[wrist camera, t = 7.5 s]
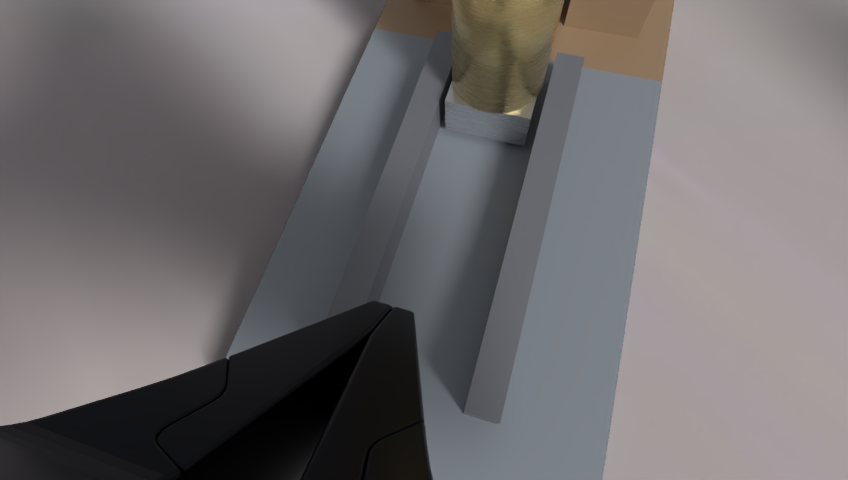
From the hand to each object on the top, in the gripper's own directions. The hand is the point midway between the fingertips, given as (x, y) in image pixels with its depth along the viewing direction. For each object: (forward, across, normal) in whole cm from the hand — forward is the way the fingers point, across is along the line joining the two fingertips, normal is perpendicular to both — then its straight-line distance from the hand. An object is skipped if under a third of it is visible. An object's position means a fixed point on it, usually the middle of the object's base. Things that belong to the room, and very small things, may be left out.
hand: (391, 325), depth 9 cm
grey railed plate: (+11, 0, 0) cm, 11 cm away
